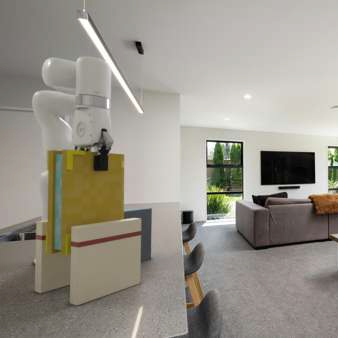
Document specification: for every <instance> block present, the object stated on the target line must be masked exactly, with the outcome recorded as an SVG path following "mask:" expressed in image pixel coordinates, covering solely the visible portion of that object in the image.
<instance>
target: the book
mask: <svg viewBox="0 0 338 338" xmlns="http://www.w3.org/2000/svg"><path fill="white" fill-rule="evenodd" d="M94 155H96V153H95V152H89V151H78V150H62V151H56V150H47V164H46V171H47V170H48V227H47V234H46V254H54V253H58V252H61V255H70V254H71V228H72V227H73V226H80V225H87V224H94V223H101V222H108V221H116V220H123V219H124V209H125V154H124V153H112V152H110V155H109V156H108V171H94ZM96 156H97V155H96Z"/></svg>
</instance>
